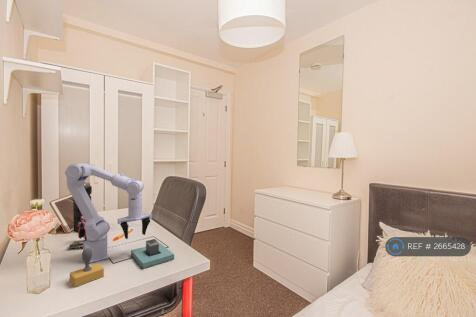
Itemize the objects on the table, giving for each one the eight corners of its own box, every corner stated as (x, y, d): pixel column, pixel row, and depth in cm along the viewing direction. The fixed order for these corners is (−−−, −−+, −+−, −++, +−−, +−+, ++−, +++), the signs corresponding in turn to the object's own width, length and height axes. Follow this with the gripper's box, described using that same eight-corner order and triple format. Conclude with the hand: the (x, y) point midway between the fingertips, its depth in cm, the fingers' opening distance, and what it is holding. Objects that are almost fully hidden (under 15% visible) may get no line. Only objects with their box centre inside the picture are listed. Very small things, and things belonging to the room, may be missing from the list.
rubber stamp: (98, 271, 97) (98, 242, 96) (104, 276, 93) (103, 246, 92) (69, 281, 89) (69, 250, 89) (74, 288, 85) (74, 255, 85)
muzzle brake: (69, 230, 141) (77, 234, 135) (69, 183, 140) (76, 185, 134) (87, 225, 149) (94, 229, 143) (86, 181, 148) (94, 183, 142)
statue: (74, 244, 125) (74, 215, 125) (94, 242, 127) (94, 214, 128) (66, 250, 114) (66, 219, 115) (88, 248, 117) (88, 217, 118)
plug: (150, 259, 106) (150, 244, 106) (145, 255, 110) (145, 241, 110) (158, 257, 109) (159, 242, 109) (154, 253, 113) (154, 238, 112)
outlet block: (143, 269, 99) (143, 263, 99) (130, 255, 111) (130, 250, 111) (174, 259, 108) (174, 254, 108) (159, 247, 120) (159, 242, 120)
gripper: (120, 211, 101) (120, 242, 101) (154, 206, 110) (154, 235, 111) (116, 208, 106) (116, 237, 107) (148, 203, 115) (148, 230, 116)
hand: (135, 236), depth 109 cm, fingers open, 7 cm apart
